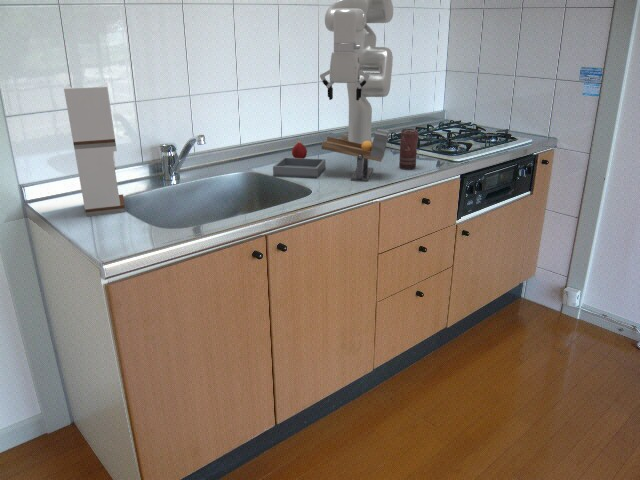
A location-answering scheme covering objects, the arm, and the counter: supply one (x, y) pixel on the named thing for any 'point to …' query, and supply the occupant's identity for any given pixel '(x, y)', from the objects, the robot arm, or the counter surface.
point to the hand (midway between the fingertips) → (344, 99)
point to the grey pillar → (94, 148)
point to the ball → (366, 146)
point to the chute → (358, 146)
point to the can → (408, 149)
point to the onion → (299, 151)
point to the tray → (299, 167)
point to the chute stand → (362, 170)
